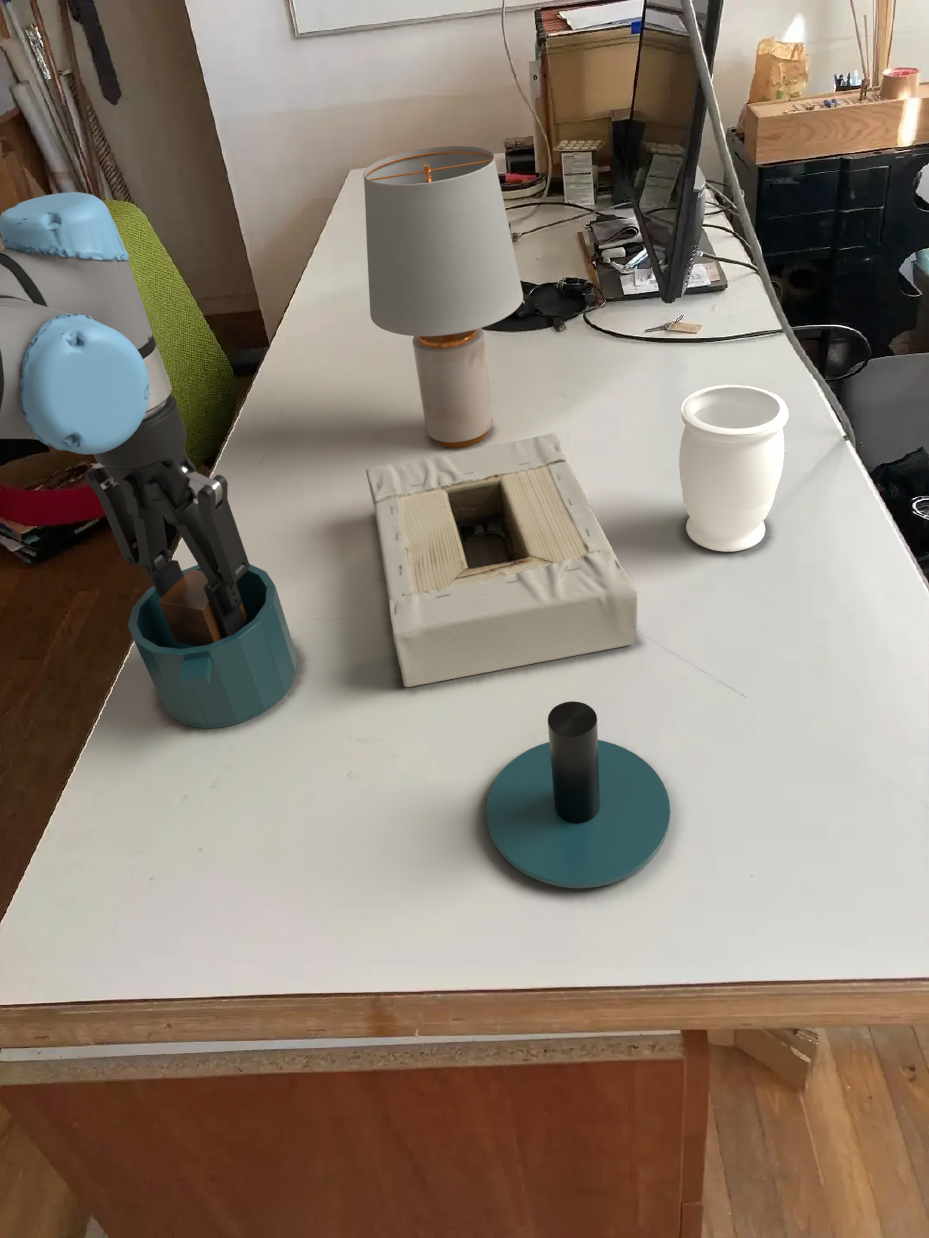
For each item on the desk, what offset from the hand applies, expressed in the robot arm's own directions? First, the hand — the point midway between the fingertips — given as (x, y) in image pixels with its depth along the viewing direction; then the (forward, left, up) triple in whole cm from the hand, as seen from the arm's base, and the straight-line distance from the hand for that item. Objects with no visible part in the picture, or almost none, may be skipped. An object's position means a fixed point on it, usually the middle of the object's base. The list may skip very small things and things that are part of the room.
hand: (210, 627), depth 88 cm
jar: (+41, +37, -7) cm, 56 cm away
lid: (+38, -5, -6) cm, 39 cm away
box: (+19, +23, -7) cm, 31 cm away
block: (0, 0, 0) cm, 0 cm away
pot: (0, 0, -7) cm, 7 cm away
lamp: (+3, +51, -7) cm, 52 cm away
